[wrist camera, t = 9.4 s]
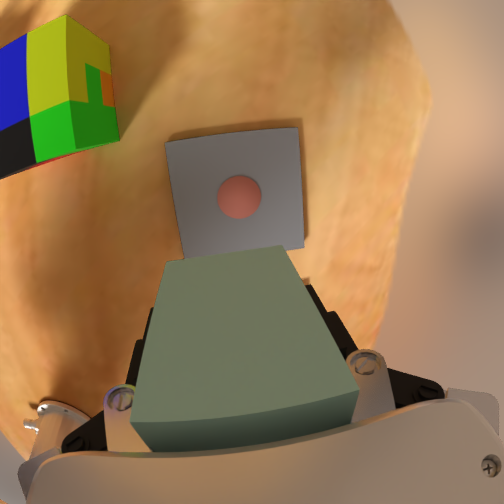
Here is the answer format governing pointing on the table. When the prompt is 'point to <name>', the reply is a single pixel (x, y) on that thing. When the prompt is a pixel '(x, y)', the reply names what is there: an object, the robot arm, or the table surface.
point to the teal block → (238, 357)
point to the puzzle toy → (54, 96)
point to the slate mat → (237, 191)
